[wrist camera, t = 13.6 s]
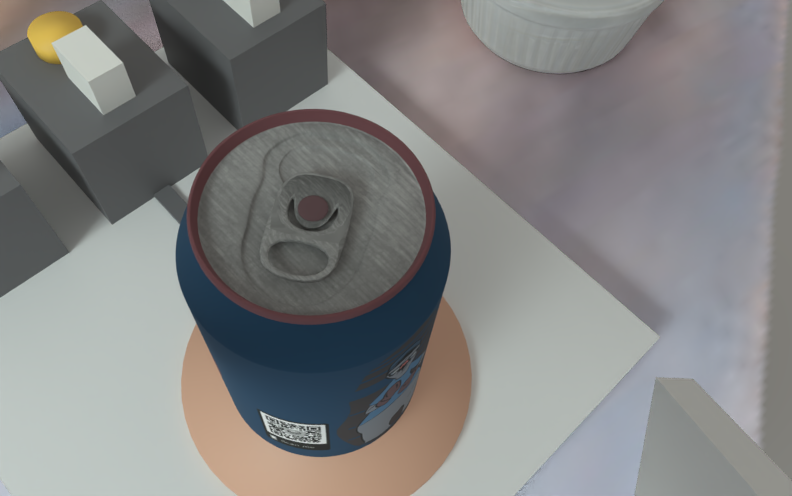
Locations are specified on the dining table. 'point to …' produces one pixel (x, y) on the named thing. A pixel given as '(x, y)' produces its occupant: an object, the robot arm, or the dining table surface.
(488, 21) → the ramekin
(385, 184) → the soda can
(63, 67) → the breaker board
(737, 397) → the dining table surface
